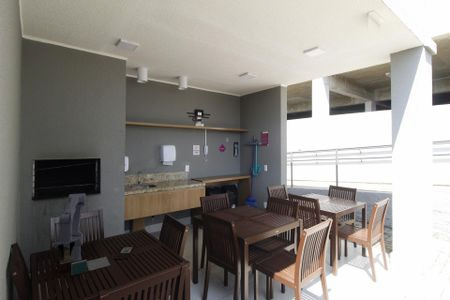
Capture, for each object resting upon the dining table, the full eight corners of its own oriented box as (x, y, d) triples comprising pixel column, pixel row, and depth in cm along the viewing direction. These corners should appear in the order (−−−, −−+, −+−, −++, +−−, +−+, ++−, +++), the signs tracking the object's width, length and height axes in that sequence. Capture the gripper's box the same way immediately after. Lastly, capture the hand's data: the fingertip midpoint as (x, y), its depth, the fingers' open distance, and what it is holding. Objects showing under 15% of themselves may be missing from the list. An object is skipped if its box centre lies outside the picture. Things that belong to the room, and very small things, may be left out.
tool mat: (86, 262, 160) (86, 261, 160) (106, 257, 167) (106, 256, 167) (88, 271, 149) (89, 270, 149) (110, 265, 156) (110, 265, 156)
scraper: (59, 261, 149) (59, 249, 148) (73, 258, 153) (73, 246, 152) (60, 264, 145) (59, 251, 145) (73, 261, 149) (73, 248, 149)
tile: (71, 274, 145) (71, 263, 145) (86, 270, 150) (86, 259, 150) (71, 275, 144) (71, 264, 144) (87, 271, 149) (87, 260, 148)
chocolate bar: (114, 259, 164) (121, 247, 182) (114, 260, 164) (121, 249, 182) (127, 258, 165) (134, 247, 183) (127, 259, 165) (134, 248, 183)
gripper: (52, 238, 141) (52, 261, 141) (80, 233, 150) (81, 255, 150) (51, 234, 147) (52, 256, 147) (79, 229, 155) (80, 250, 156)
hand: (66, 255), depth 149 cm, fingers closed on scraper, 3 cm apart
